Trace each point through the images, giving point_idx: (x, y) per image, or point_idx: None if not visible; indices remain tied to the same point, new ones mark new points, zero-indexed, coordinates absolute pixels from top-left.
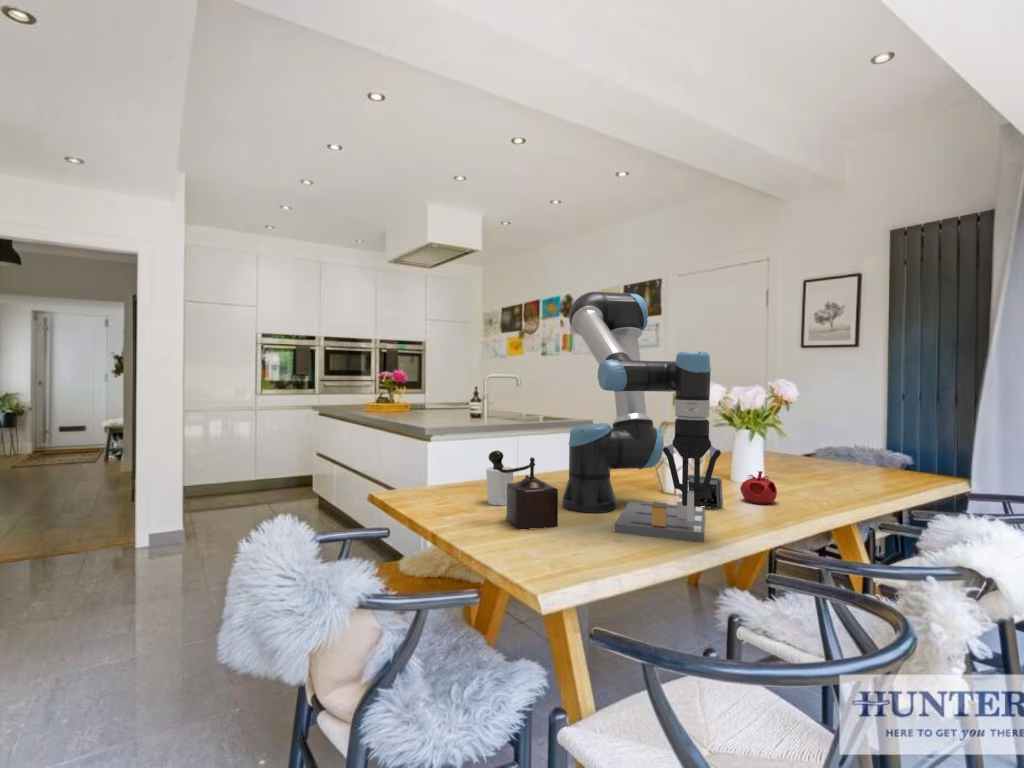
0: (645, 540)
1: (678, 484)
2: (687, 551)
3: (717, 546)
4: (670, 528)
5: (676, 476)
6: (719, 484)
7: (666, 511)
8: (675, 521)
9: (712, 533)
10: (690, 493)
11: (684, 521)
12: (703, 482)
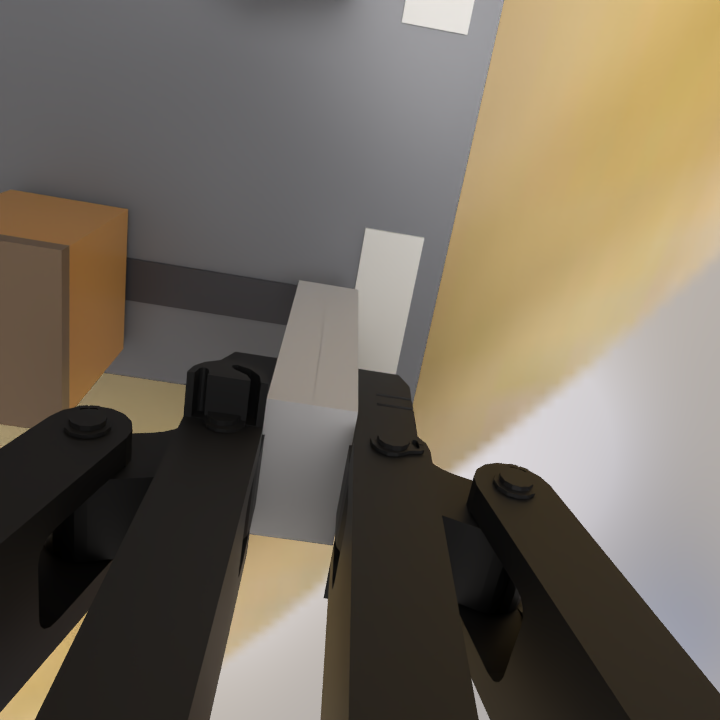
0: (23, 427)
1: (101, 583)
2: (277, 568)
3: (473, 452)
4: (167, 348)
5: (12, 683)
6: None
7: (89, 262)
8: (212, 101)
9: (524, 141)
10: (289, 535)
11: (298, 80)
12: (493, 549)
